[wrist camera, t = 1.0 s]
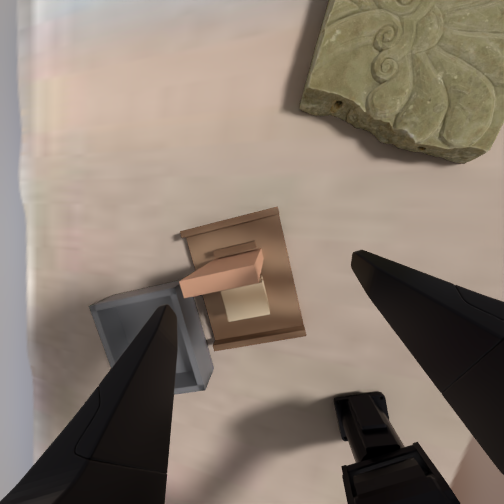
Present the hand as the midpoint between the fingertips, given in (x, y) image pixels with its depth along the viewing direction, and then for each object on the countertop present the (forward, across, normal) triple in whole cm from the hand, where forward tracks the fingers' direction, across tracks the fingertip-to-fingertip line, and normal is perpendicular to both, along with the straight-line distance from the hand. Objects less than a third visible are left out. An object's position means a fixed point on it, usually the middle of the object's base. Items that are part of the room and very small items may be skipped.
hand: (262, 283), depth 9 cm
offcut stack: (+11, +2, +13) cm, 17 cm away
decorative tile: (+20, -22, -7) cm, 30 cm away
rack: (+12, +2, +11) cm, 17 cm away
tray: (+12, +15, +16) cm, 25 cm away
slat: (+13, +2, +8) cm, 16 cm away
